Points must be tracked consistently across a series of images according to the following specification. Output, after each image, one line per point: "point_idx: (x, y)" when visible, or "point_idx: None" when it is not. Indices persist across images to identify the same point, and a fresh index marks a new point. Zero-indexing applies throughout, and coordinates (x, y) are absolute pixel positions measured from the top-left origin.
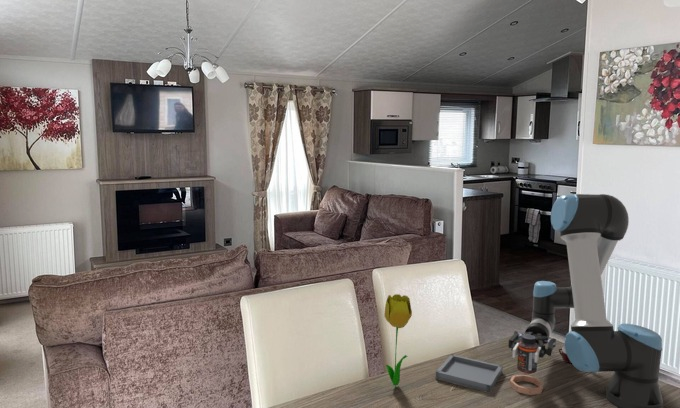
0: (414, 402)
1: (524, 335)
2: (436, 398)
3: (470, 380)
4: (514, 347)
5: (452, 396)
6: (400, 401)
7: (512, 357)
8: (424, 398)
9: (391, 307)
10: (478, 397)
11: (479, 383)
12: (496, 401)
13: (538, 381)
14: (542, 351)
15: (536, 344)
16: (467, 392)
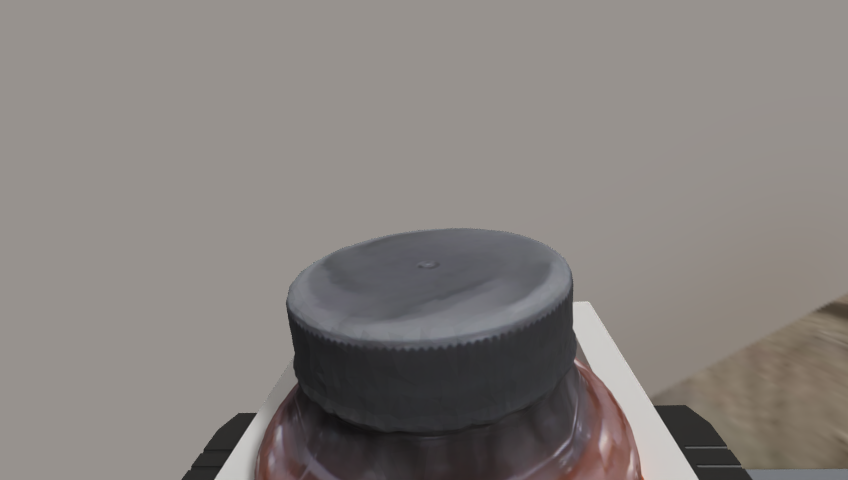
0: (803, 316)
1: (523, 266)
2: (788, 358)
3: (822, 469)
4: (603, 336)
5: (765, 394)
6: (838, 305)
7: None
8: (816, 342)
9: None
10: None
11: (750, 474)
12: None
13: None
14: (208, 473)
15: (284, 407)
16: (761, 456)
